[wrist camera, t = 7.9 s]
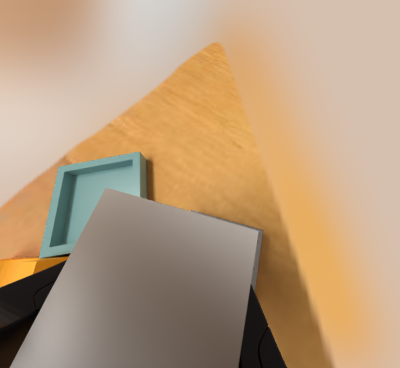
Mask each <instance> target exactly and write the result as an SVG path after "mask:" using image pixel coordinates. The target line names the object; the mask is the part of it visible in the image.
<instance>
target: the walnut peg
mask: <svg viewBox="0 0 400 368" xmlns="http://www.w3.org/2000/svg"><path fill="white" fill-rule="evenodd" d="M258 232H259V231H257V230H254V229H250V228H247V227H243V226H240V225H236V224H233V223H229V222H226V221H222V220H219V219H215V218H212V217H208V216H204V215H201V214H197V213H194V212H190V211H187V210H183V209H180V208H176V207H173V206H169V205H166V204H162V203H159V202H155V201H152V200H148V199H145V198H141V197H138V196H134V195H131V194H127V193H124V192H120V191H117V190H113V189H110V188H105V190H104V192H103V194H102V196H101V197H100V199H99V201H98V203H97V205H96V207H95V209H94V211H93V212H92V214H91V216H90V218H89V220H88V222H87V224H86V226H85V227H84V229H83V231H82V233H81V235H80V237H79V239H78V241H77V242H76V244H75V246H74V248H73V250H72V252H71V254H70V256H69V257H68V259H67V261H66V263H65V265H64V267H63V269H62V271H61V272H60V274H59V276H58V278H57V280H56V282H55V284H54V285H53V287H52V289H51V291H50V293H49V295H48V297H47V299H46V300H45V302H44V304H43V306H42V308H41V310H40V312H39V314H38V315H37V317H36V319H35V321H34V323H33V325H32V327H31V329H30V330H29V332H28V334H27V336H26V338H25V340H24V342H23V344H22V345H21V347H20V349H19V351H18V353H17V355H16V357H15V359H14V360H13V362H12V364H11V366H10V368H238V365H239V358H240V352H241V345H242V338H243V332H244V325H245V318H246V312H247V305H248V298H249V292H250V285H251V279H252V272H253V265H254V259H255V252H256V245H257V239H258Z"/></svg>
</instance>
